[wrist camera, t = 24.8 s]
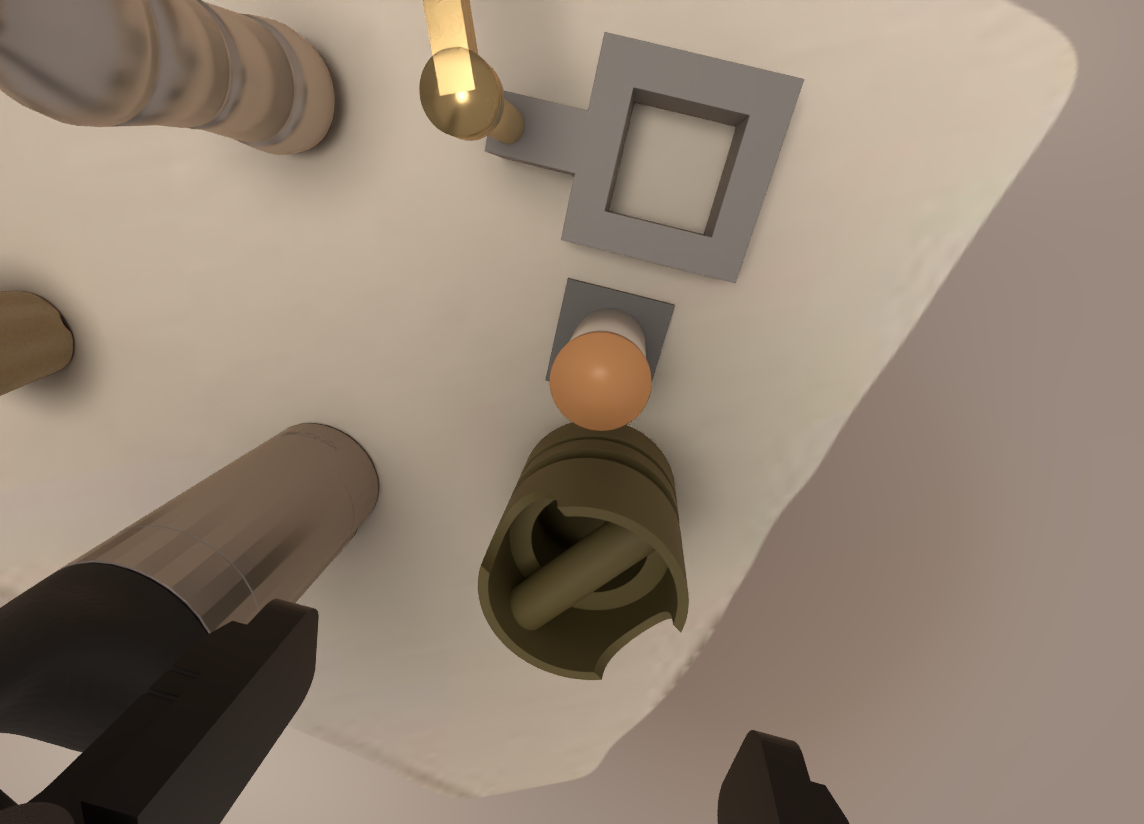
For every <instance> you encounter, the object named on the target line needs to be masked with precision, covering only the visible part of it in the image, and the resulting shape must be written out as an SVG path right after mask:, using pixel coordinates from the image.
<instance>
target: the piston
mask: <svg viewBox="0 0 1144 824" xmlns="http://www.w3.org/2000/svg"><path fill="white" fill-rule="evenodd" d="M478 594H479V600H480V604H481V608H482V611H483V613H484V616H485V618H486V620H487V622H488V624H489V625H490V627H491V629H492V630H493V632H494V633H495V634H496V636H497V637H498V638H499V639H500V640H501V641H502V643H503V644H504V645H505V646H506V647H507V648H509V649H510V650H511V651H512V652H513V653H515V654H516V655H517V656H519V657H520V658H521V659H523V660H525V661H526V662H528V663H530V664H531V665H533V666H535V667H537V668H540V669H542V670H544V671H547V672H550V673H553V674H556V675H559V676H563V677H568V678H574V679H583V680H602V676H603V672H604V670H605V667H606V666H607V664H608V662H609V661H610V660H611V658H612V657H613V656H614V655H615V654H616V653H617V652H618V651H619V650H620V649H621V648H622V647H623V646H624V645H626V644H627V643H628V642H629V641H631V640H632V639H634V638H635V637H636V636H638V635H639V634H641V633H642V632H644V631H645V630H647V629H649V628H650V627H652V626H654V625H655V624H657V623H659V622H661V621H664V620H666V619H671V618H672V620H673V625H674V626H675V627H676V628H677V629H678V630H679V631H680V632H682V629H683V627H684V624H685V622H686V618H687V613H688V605H689V598H688V588H687V580H686V572H685V564H684V556H683V548H682V540H681V532H680V526H679V516H678V508H677V500H676V492H675V484H674V478H673V474H672V471H671V468H670V465H669V463H668V461H667V459H666V458H665V456H664V454H663V453H662V452H661V450H660V449H659V448H658V447H657V446H656V444H655V443H653V442H652V441H651V440H650V439H649V438H648V437H646V436H645V435H644V434H642V433H641V432H639V431H637V430H636V429H634V428H632V427H629V426H627V425H624V426H622V427H620V428H616V429H613V430H606V431H597V430H590V429H586V428H583V427H581V426H579V425H576V424H575V423H569V424H566V425H564V426H562V427H560V428H558V429H556V430H554V431H552V432H551V433H549V434H548V435H547V436H545V437H544V438H543V439H542V440H541V441H540V442H539V443H538V444H537V446H536V447H535V448H534V450H533V451H532V453H531V454H530V456H529V458H528V460H527V462H526V465H525V467H524V469H523V471H522V474H521V476H520V478H519V480H518V482H517V485H516V487H515V489H514V491H513V494H512V496H511V499H510V500H509V503H508V505H507V507H506V509H505V511H504V514H503V516H502V518H501V520H500V523H499V525H498V527H497V529H496V531H495V534H494V536H493V538H492V540H491V543H490V545H489V547H488V550H487V552H486V555H485V557H484V559H483V562H482V564H481V567H480V571H479V577H478Z"/></svg>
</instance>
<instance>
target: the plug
mask: <svg viewBox="0 0 1144 824" xmlns="http://www.w3.org/2000/svg"><path fill="white" fill-rule="evenodd" d="M550 390H551V394H552V397H553V399H554V402H555V404H556V405H557V407H558V409H559V410H560V411H561V413H562V414H563V415H564V416H565V417H566V418H568V419H569V420H570V421H572V422H573V423H575V424H576V425H579V426H581V427H583V428H586V429H590V430H597V431H606V430H613V429H616V428H620V427H622V426H624V425H626V424H628V423H629V422H631V421H632V420H634V419H635V418H636V417H637V416H638V415H639V414H640V413H641V411H642V410H643V409H644V407H645V405H646V404H647V401H648V399H649V396H650V392H651V372H650V367H649V364H648V362H647V359H646V348H645V337H644V333H643V330H642V328H641V326H640V325H639V323H638V322H637V321H636V320H635V319H634V318H633V317H632V316H631V315H629V314H628V313H626V312H624V311H621V310H618V309H613V308H605V309H600V310H596V311H594V312H592V313H590V314H588V315H587V316H586V317H584V318H583V319H582V320H581V322H580V323H579V324H578V326H577V328H576V329H575V331H574V333H573V335H572V337H571V339H570V341H569V342H568V343H567V344H566V345H565V346H564V347H563V348H562V349H561V351H560V352H559V354H558V355H557V357H556V359H555V361H554V363H553V365H552V369H551V373H550Z"/></svg>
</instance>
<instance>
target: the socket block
mask: <svg viewBox="0 0 1144 824" xmlns="http://www.w3.org/2000/svg"><path fill="white" fill-rule="evenodd" d="M803 82H804V79H802V78H797V77H793V76H789V75H785V74H781V73H776V72H772V71H768V70H764V69H759V68H755V67H751V66H747V65H743V64H738V63H734V62H730V61H726V60H721V59H717V58H713V57H709V56H704V55H700V54H696V53H692V52H688V51H683V50H679V49H675V48H671V47H666V46H662V45H658V44H654V43H650V42H645V41H641V40H637V39H633V38H628V37H624V36H620V35H616V34H611V33H607V32H604V37H603V42H602V46H601V51H600V56H599V61H598V66H597V70H596V75H595V80H594V85H593V89H592V94H591V99H590V104H589V108H588V111H586V110H582V109H578V108H574V107H569V106H565V105H561V104H557V103H553V102H549V101H544V100H540V99H536V98H532V97H528V96H524V95H520V94H515V93H511V92H507V91H504V98H505V102H504V111H503V115H502V117H501V120H500V122H499V124H498V125H497V127H496V128H495V129H494V130H493V131H492V132H491V133H490V134H489V135H487V140H486V147H485V151H486V152H489V153H491V154H494V155H496V156H499V157H502V158H505V159H510V160H514V161H518V162H522V163H526V164H530V165H534V166H538V167H542V168H546V169H550V170H554V171H559V172H563V173H567V174H571V175H574V180H573V185H572V189H571V194H570V199H569V204H568V208H567V213H566V218H565V223H564V227H563V232H562V237H561V240H563V241H567V242H571V243H575V244H579V245H583V246H587V247H591V248H595V249H599V250H603V251H607V252H611V253H616V254H620V255H624V256H628V257H632V258H636V259H640V260H644V261H648V262H652V263H656V264H660V265H664V266H668V267H672V268H676V269H680V270H684V271H688V272H692V273H696V274H700V275H704V276H708V277H712V278H716V279H720V280H724V281H728V282H732V283H736V281H737V278H738V275H739V272H740V269H741V266H742V263H743V260H744V257H745V254H746V251H747V248H748V245H749V242H750V239H751V236H752V233H753V230H754V227H755V224H756V221H757V218H758V215H759V212H760V209H761V206H762V203H763V200H764V198H765V195H766V192H767V189H768V186H769V183H770V180H771V177H772V174H773V171H774V168H775V165H776V162H777V159H778V156H779V153H780V150H781V147H782V144H783V141H784V138H785V135H786V132H787V129H788V126H789V123H790V120H791V117H792V114H793V111H794V108H795V105H796V103H797V100H798V97H799V94H800V91H801V88H802V85H803ZM634 102H636V103H640V104H645V105H649V106H653V107H657V108H661V109H665V110H670V111H674V112H678V113H682V114H686V115H690V116H695V117H699V118H703V119H707V120H711V121H715V122H720V123H724V124H728V125H732V126H736V130H735V133H734V137H733V140H732V143H731V147H730V150H729V153H728V156H727V160H726V163H725V166H724V170H723V173H722V176H721V179H720V183H719V186H718V189H717V192H716V196H715V199H714V202H713V206H712V209H711V212H710V215H709V219H708V222H707V225H706V229H705V232H704V235H703V234H699V233H695V232H691V231H687V230H683V229H679V228H675V227H671V226H667V225H663V224H659V223H655V222H651V221H647V220H643V219H638V218H634V217H630V216H626V215H622V214H618V213H614V212H610V211H608V210H609V206H610V202H611V198H612V193H613V189H614V185H615V181H616V177H617V172H618V168H619V164H620V160H621V156H622V151H623V147H624V143H625V139H626V134H627V130H628V126H629V122H630V118H631V113H632V109H633V105H634Z"/></svg>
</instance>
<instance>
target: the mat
mask: <svg viewBox="0 0 1144 824" xmlns="http://www.w3.org/2000/svg"><path fill="white" fill-rule="evenodd" d="M674 306H675V305H674V304H670V303H666V302H662V301H658V300H654V299H650V298H646V297H642V296H638V295H634V294H630V293H626V292H622V291H618V290H614V289H610V288H606V287H602V286H598V285H594V284H590V283H586V282H582V281H578V280H574V279H570V278H568V280H567V285H566V289H565V294H564V298H563V303H562V307H561V312H560V316H559V321H558V325H557V330H556V335H555V339H554V344H553V348H552V353H551V357H550V362H549V366H548V371H547V375H546V381H550V373H551V369H552V365H553V363H554V361H555V359H556V357H557V355H558V354H559V352H560V351H561V349H562V348H563V347H564V346H565V345H566V344H567V343H568V342H569V341H570V339H571V337H572V335H573V333H574V331H575V329H576V328H577V326H578V324H579V323H580V322H581V320H582V319H583V318H584V317H586V316H587V315H588V314H590V313H592V312H594V311H596V310H600V309H605V308H613V309H618V310H621V311H624V312H626V313H628V314H629V315H631V316H632V317H633V318H634V319H635V320H636V321H637V322H638V323H639V325H640V326H641V328H642V330H643V333H644V337H645V348H646V359H647V362H648V364H649V367H650V372H651V383H652V379H653V376H654V373H655V369H656V366H657V363H658V359H659V356H660V353H661V349H662V346H663V343H664V339H665V336H666V333H667V329H668V326H669V323H670V319H671V316H672V312H673V309H674Z"/></svg>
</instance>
